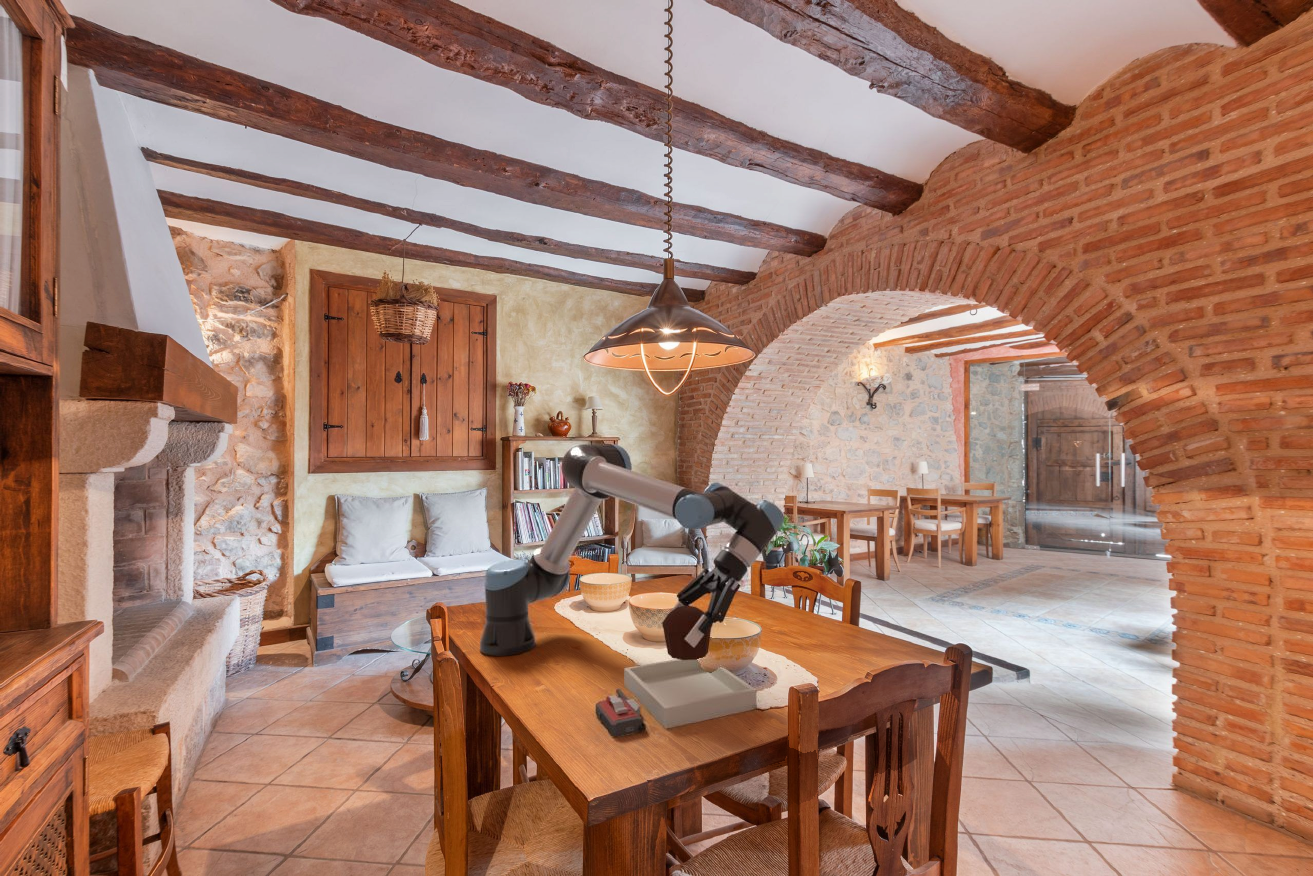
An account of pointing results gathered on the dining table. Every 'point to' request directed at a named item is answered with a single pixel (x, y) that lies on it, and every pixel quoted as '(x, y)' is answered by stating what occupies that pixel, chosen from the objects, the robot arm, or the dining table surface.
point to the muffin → (684, 633)
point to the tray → (688, 691)
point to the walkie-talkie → (620, 715)
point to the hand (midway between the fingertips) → (676, 635)
